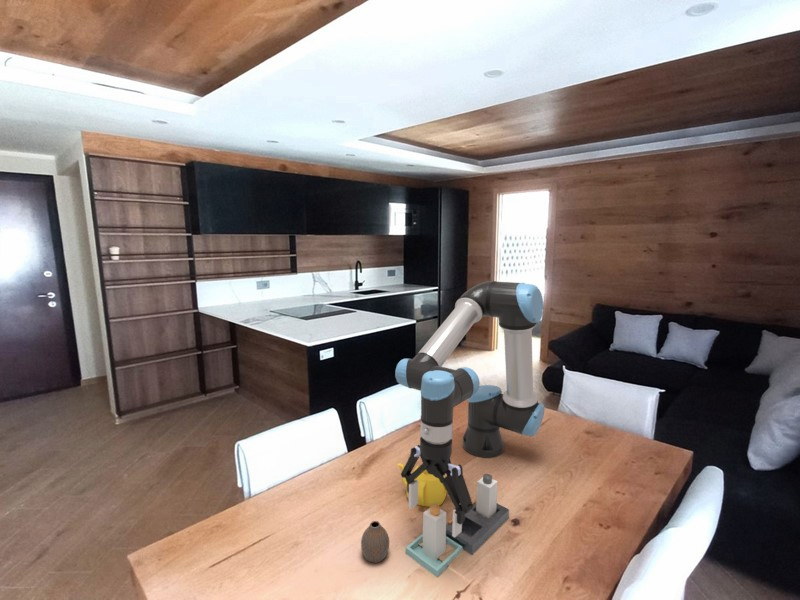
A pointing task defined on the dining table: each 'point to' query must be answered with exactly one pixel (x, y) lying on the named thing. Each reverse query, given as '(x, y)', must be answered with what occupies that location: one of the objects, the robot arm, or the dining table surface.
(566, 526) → the dining table surface
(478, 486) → the twin plug
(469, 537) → the grey socket base
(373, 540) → the vase
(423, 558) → the tray
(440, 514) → the plug
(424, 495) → the teapot
